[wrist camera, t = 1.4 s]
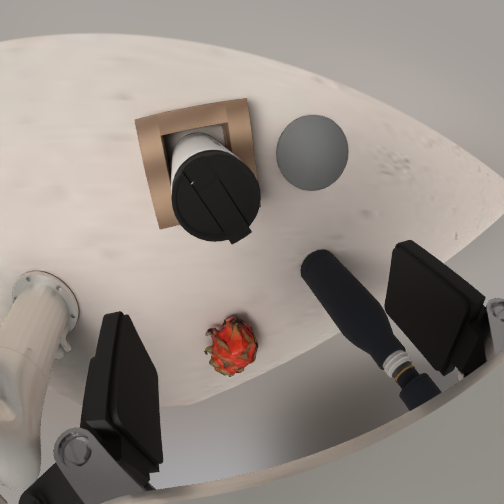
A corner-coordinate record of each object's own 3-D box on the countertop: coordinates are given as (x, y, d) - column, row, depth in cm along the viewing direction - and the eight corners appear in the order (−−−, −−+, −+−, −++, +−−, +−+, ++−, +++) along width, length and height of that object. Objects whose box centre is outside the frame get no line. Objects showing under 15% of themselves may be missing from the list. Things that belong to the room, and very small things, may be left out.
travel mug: (190, 190, 39) (206, 263, 22) (163, 150, 36) (151, 190, 18) (230, 164, 39) (280, 217, 21) (204, 123, 35) (234, 137, 18)
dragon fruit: (216, 353, 55) (225, 298, 52) (258, 368, 53) (271, 313, 50) (195, 376, 48) (201, 316, 44) (241, 395, 45) (254, 335, 42)
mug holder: (251, 195, 41) (260, 206, 37) (161, 215, 39) (159, 229, 35) (237, 99, 35) (246, 98, 30) (139, 118, 33) (134, 119, 29)
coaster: (347, 183, 44) (349, 184, 43) (280, 195, 42) (281, 196, 42) (344, 113, 39) (346, 113, 38) (272, 118, 37) (273, 118, 36)
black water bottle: (299, 253, 48) (415, 402, 22) (335, 246, 49) (460, 375, 23) (300, 286, 51) (396, 433, 25) (333, 278, 52) (439, 408, 26)
